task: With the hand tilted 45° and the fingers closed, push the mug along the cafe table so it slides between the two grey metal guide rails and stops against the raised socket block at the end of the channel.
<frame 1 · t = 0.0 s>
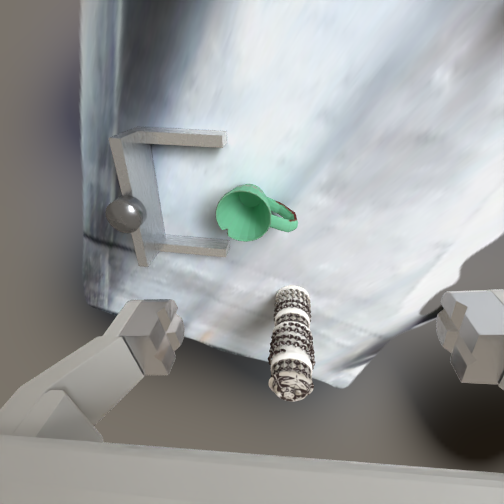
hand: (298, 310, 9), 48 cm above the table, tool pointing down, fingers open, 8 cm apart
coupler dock: (204, 194, 60), on the table
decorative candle: (292, 297, 72), on the table
mug: (262, 198, 59), on the table
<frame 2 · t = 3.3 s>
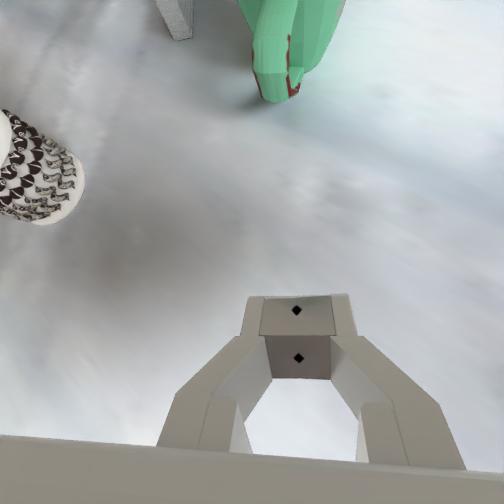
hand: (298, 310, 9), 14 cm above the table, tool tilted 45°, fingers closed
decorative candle: (52, 188, 31), on the table
mug: (294, 77, 28), on the table
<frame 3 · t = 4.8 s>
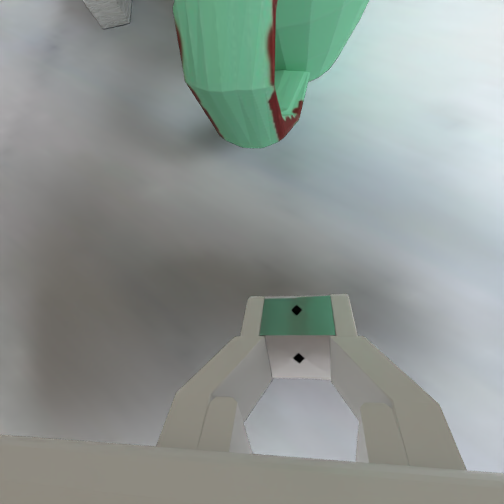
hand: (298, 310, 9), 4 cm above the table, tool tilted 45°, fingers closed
mug: (291, 88, 16), on the table
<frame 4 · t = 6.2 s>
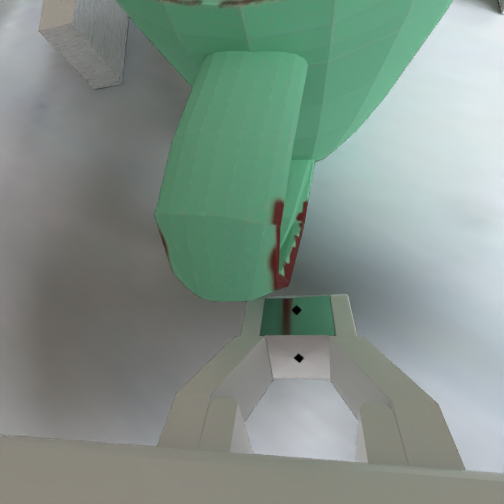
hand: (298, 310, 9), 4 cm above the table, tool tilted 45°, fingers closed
mug: (294, 167, 15), on the table, touching gripper
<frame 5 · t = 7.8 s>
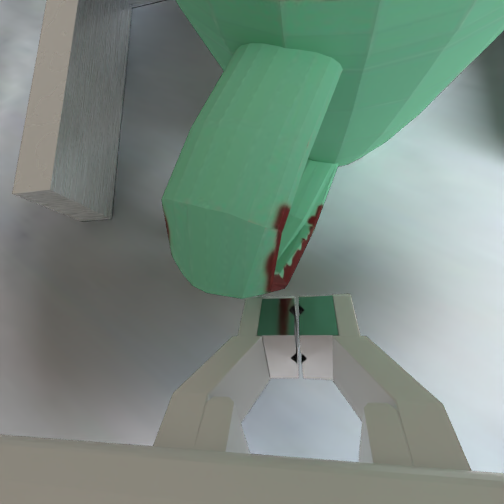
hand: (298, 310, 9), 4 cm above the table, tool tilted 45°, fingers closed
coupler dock: (294, 114, 15), on the table
mug: (316, 168, 15), on the table, touching gripper
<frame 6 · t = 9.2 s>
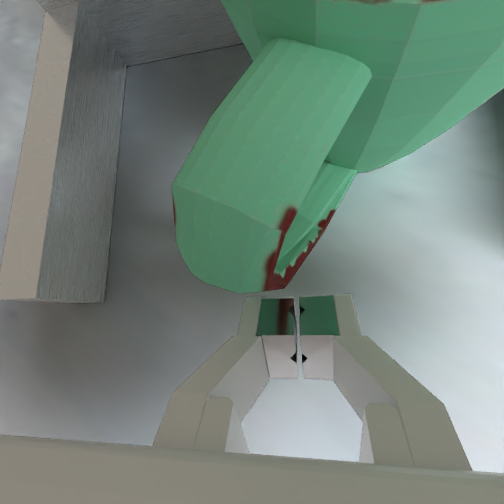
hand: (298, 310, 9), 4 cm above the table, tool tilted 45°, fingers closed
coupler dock: (298, 196, 14), on the table
mug: (334, 172, 14), on the table, touching gripper
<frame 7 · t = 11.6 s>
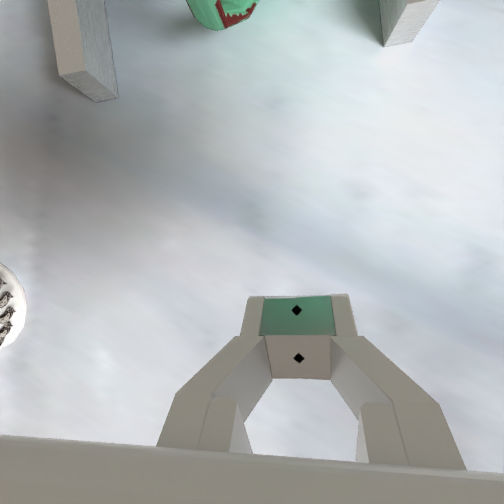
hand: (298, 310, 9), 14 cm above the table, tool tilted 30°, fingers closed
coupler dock: (236, 7, 22), on the table
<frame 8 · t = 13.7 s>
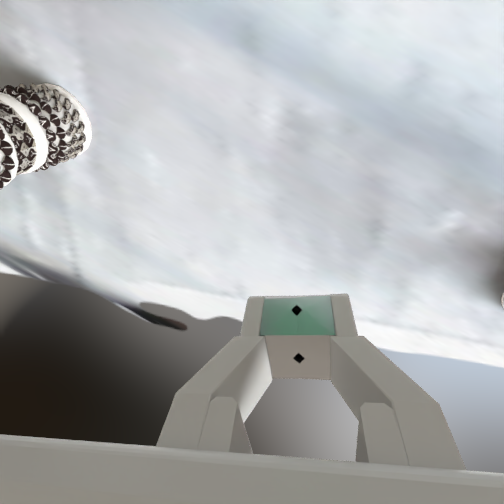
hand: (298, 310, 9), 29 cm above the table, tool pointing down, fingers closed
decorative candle: (60, 121, 36), on the table
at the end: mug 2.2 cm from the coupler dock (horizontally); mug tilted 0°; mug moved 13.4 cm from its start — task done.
